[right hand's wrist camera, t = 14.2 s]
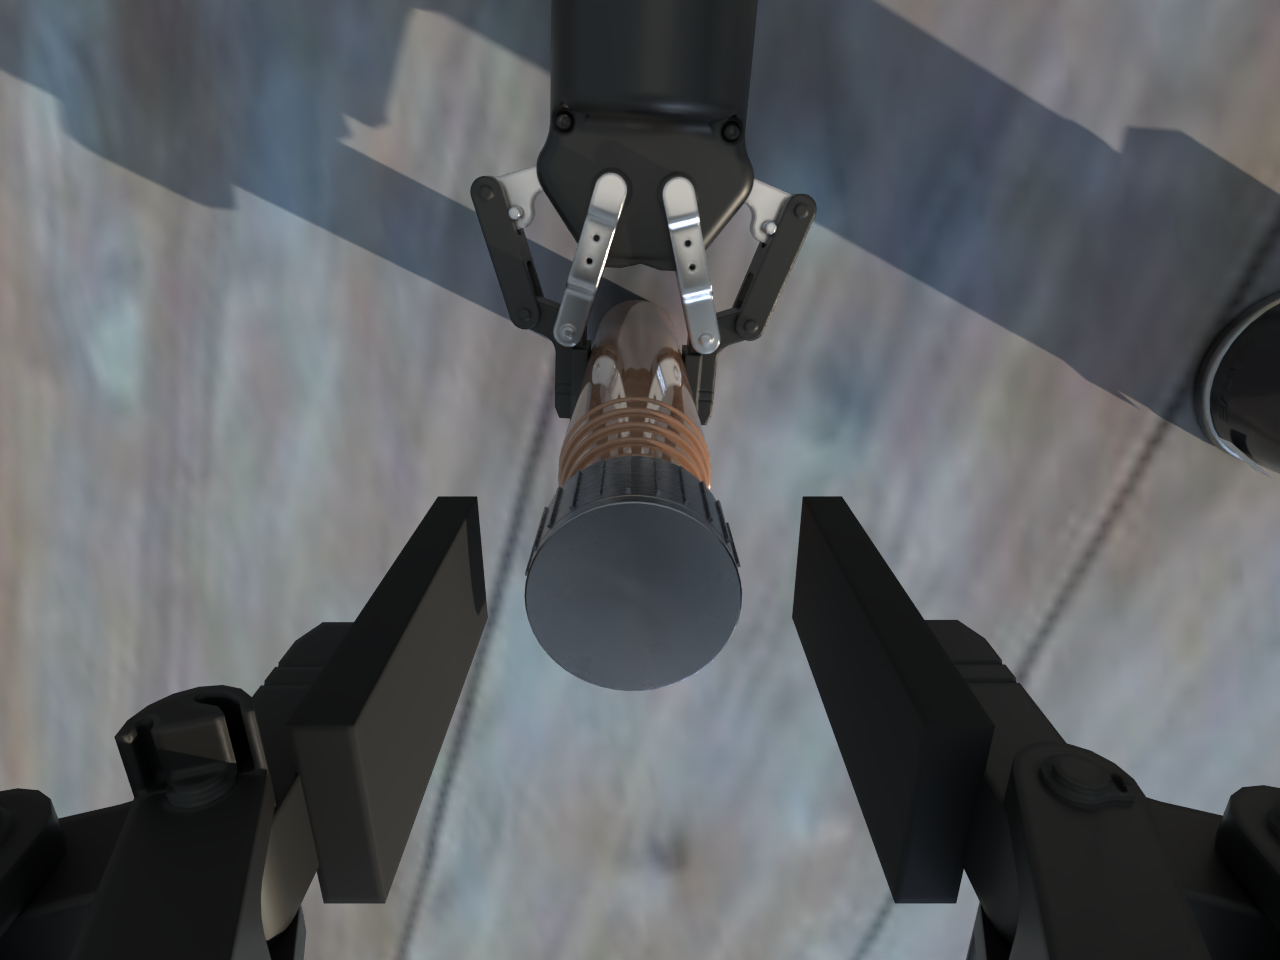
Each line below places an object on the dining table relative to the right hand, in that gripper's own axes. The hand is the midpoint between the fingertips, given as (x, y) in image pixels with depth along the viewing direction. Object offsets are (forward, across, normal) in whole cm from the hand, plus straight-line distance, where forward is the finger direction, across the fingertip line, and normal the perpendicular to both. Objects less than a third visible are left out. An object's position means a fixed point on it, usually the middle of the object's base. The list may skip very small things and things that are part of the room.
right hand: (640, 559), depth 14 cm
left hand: (+18, 0, -3) cm, 19 cm away
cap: (-1, 0, 0) cm, 1 cm away
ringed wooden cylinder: (+25, 0, 0) cm, 25 cm away
